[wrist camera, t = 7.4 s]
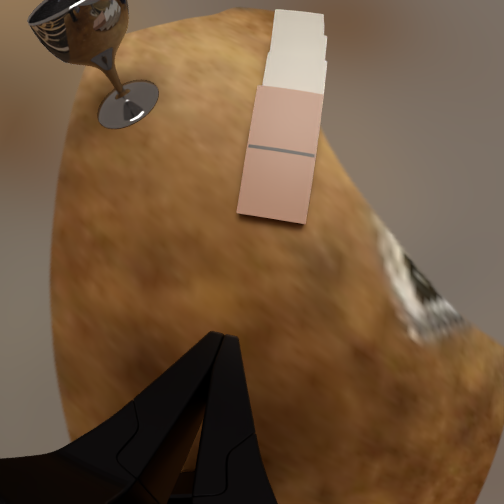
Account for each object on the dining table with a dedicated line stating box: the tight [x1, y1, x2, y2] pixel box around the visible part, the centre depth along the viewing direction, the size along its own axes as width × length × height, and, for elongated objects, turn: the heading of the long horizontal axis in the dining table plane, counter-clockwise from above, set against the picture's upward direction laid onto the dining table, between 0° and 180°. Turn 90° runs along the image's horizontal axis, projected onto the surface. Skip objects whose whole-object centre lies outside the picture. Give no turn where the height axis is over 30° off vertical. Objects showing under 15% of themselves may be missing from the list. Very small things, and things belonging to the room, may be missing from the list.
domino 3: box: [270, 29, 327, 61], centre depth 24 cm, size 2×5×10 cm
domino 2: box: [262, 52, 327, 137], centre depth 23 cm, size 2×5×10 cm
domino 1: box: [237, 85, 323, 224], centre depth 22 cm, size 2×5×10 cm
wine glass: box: [27, 0, 159, 129], centre depth 20 cm, size 8×8×15 cm
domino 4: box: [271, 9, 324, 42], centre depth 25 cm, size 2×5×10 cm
